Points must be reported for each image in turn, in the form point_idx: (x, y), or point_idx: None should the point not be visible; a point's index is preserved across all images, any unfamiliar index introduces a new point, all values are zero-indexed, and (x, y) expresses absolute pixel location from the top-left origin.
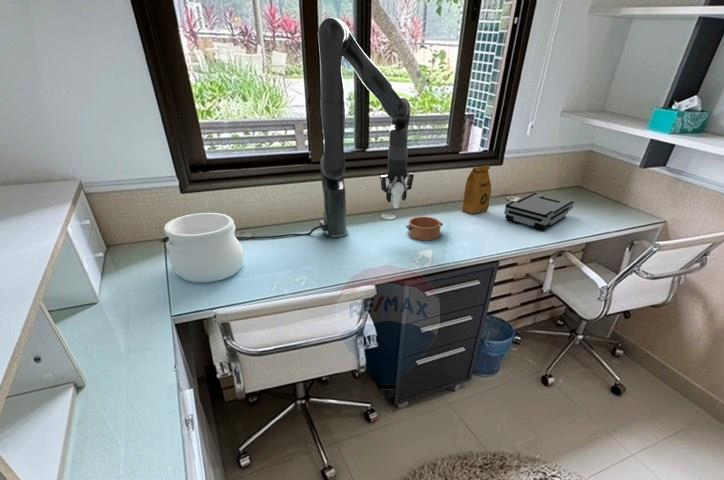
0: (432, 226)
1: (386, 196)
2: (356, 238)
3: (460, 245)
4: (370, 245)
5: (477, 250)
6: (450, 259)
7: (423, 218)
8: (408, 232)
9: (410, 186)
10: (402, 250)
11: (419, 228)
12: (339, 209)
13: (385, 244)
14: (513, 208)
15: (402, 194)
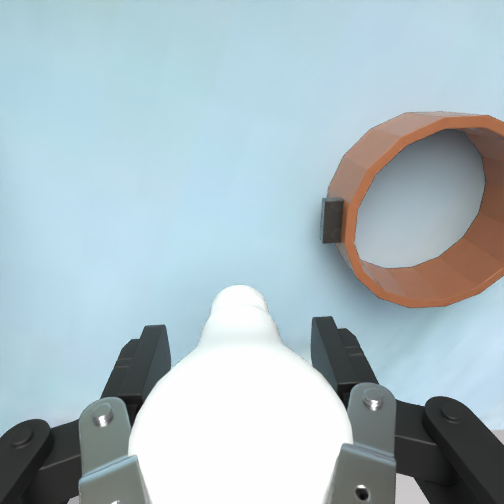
0: (498, 168)
1: (115, 375)
2: (25, 145)
3: (473, 349)
4: (93, 252)
5: (495, 396)
6: None
7: (492, 133)
8: (340, 164)
9: (449, 495)
10: None
11: (365, 283)
12: None
13: (169, 261)
14: None
15: (324, 370)
